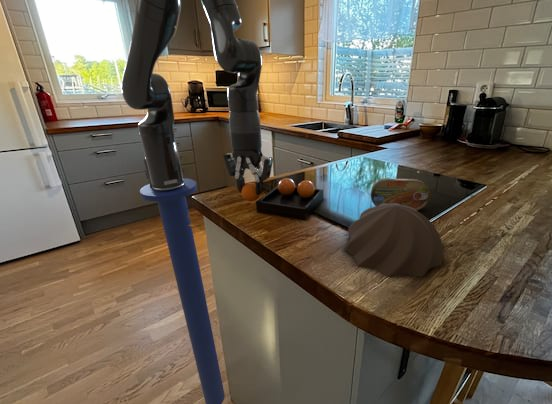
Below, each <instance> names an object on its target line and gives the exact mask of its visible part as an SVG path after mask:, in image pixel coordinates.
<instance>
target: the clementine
mask: <svg viewBox="0 0 552 404" xmlns="http://www.w3.org/2000/svg"><path fill="white" fill-rule="evenodd" d="M260 195H261V194H260ZM260 195H257V194H256V185H255V183H252V182H249V183H245V186H244V187H243V188H242V192H241V196H242V198H243V199H244V200H245V201H247V202H256V201H258V200H259V199H260V198H259V197H260Z"/></svg>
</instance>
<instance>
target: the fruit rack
mask: <svg viewBox="0 0 552 404" xmlns="http://www.w3.org/2000/svg"><path fill="white" fill-rule="evenodd" d="M323 201H324V189H319V188H316V186H315V184H314V183H313V182H312V181H310V180H307V179H306V180H302V181H300V182H299V183H298V184H297V185H296V183H295V181H294V180H293V179H292V178H290V177H285V178H281V180H279V182H278V184H277V186H275V187H274V188H273V189H271V190H270V191H269V192H267V193H266V194H264V195H262V196H261V197H260V198H258V199H257V200H255V204H256V213H260V214H266V215H272V216H278V217H284V218H290V219H297V220H302V221H306V220H307V219H308V218H309V217H310V216H311V214H313V212H314V211H315V210H316V209H317V208H318V206H319V205H320V204H321V203H322V202H323Z"/></svg>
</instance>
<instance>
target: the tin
mask: <svg viewBox="0 0 552 404" xmlns="http://www.w3.org/2000/svg"><path fill="white" fill-rule="evenodd" d="M370 199H371V203H372V204H373V206H374V207H376V206H379V205H380V204H384V203H388V204H393V203H397V204H400V205H406V206H410V207H412V208H413V209H415V210H416V211H417V212H418V211H420V210H422V209H424V208H425V207H426V206H427V205H428V203H429V202H430V199H431V191H430V188H429V187H428V185H427V184H425V182H423V181H422V180H420V179H417V178H391V177H390V178H388V177H387V178H386V177H385V178H381V179H379V180H377V181H376V182H374V184H373V185H372V187H371V190H370Z"/></svg>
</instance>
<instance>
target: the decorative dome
mask: <svg viewBox="0 0 552 404" xmlns="http://www.w3.org/2000/svg"><path fill="white" fill-rule="evenodd" d="M347 233H348V236H349V240H348V242H347V243H346V245H345V247H344V251H345V252H347V254H350V255H351V256H352V257H354V260H355V263H356V266H357V267H360V268H365V269H369V270H374V271H376V272H378V273H380V274H381V275H382V276H385V277H387V278H395V277H399V276H413V277H420V278H422V277H424V276H426V274H427V272H428V271H429V270H430V269H432V268H435V267H438V266H442V264H443V257H444V249H443V248H444V247H443V241H442V238H441V236H440V234H439V232H438V229H437V228H436V227H435V225H434V224H433V223H432V222H431V221H430V220H429V219H428V217H426V216H425V215H424V214H422V212H419V211H418V210H417V211H416V210H415V209H413V208H412V207H410V206H406V205H400V204H397V203H393V204H388V203H384V204H380V205H379V206H372V207H369V208H366V209H365V210H363V211H362V212H361V213H360V215H359V217H358V219H357V220H355V221H353V222H352V223H351V224H350V225H349V226H348V228H347Z"/></svg>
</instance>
